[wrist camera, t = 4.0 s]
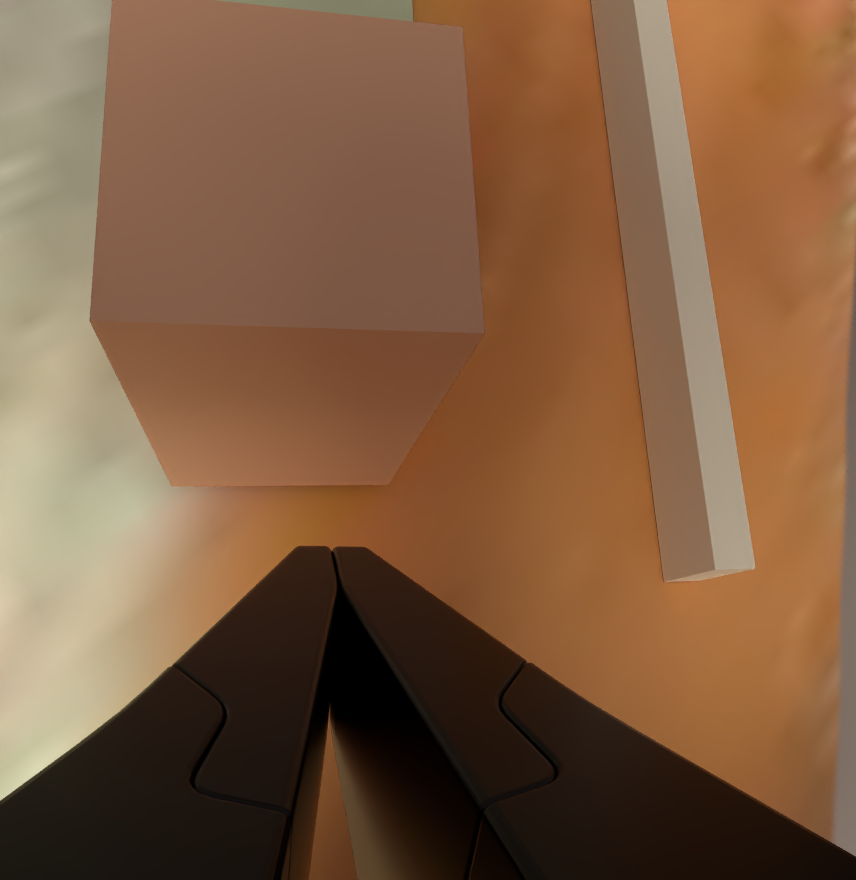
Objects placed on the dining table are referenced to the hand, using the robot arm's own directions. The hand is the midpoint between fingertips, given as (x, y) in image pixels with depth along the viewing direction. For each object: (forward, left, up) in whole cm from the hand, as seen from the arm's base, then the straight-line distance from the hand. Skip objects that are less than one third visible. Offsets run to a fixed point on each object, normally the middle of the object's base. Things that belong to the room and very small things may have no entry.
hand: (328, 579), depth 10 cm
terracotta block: (+7, 0, -13) cm, 15 cm away
